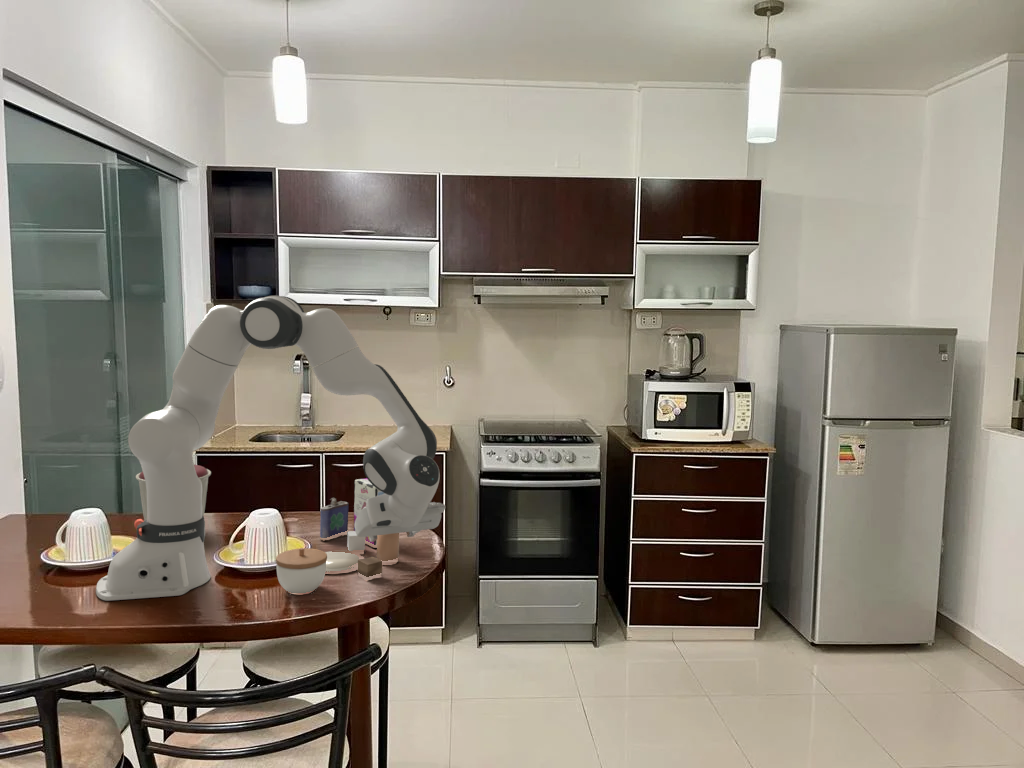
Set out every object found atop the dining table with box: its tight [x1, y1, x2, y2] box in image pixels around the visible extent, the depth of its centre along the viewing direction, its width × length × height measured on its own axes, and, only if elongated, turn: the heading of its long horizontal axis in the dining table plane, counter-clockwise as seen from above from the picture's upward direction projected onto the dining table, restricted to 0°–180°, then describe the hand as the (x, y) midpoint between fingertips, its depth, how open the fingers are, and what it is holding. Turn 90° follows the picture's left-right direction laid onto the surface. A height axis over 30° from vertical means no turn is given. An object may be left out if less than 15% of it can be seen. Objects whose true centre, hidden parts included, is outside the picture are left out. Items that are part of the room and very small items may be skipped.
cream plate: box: [324, 550, 360, 572], centre depth 175 cm, size 14×14×1 cm
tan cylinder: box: [376, 533, 400, 561], centre depth 178 cm, size 5×5×10 cm
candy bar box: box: [353, 477, 385, 545], centre depth 192 cm, size 11×5×16 cm, turn 42°
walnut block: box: [357, 556, 383, 577], centre depth 168 cm, size 4×4×4 cm
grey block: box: [346, 530, 366, 551], centre depth 185 cm, size 4×4×5 cm
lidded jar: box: [275, 547, 327, 593], centre depth 158 cm, size 11×11×9 cm
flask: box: [319, 497, 350, 538], centre depth 196 cm, size 9×3×11 cm, turn 146°
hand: (391, 536), depth 176 cm, fingers open, 8 cm apart
